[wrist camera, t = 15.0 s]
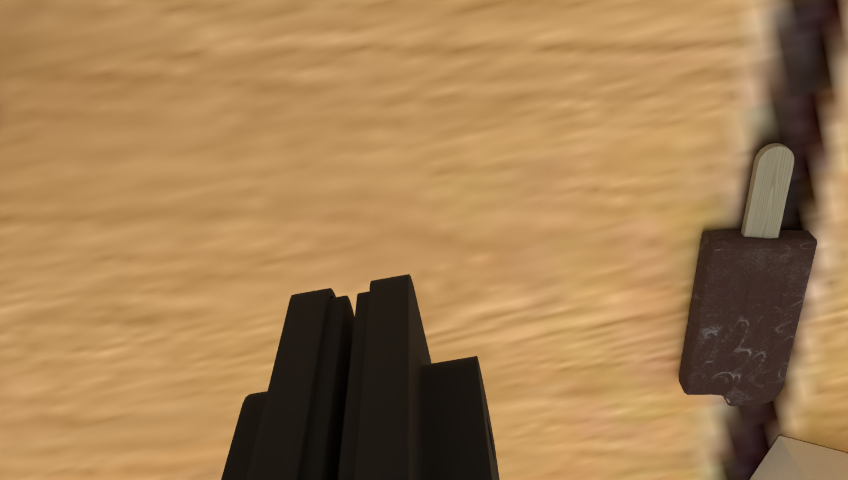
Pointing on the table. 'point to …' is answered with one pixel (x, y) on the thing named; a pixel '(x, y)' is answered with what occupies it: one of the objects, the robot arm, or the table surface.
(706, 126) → the table surface
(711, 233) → the ice cream bar
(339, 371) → the robot arm
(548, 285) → the table surface
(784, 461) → the milk carton
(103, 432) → the table surface
